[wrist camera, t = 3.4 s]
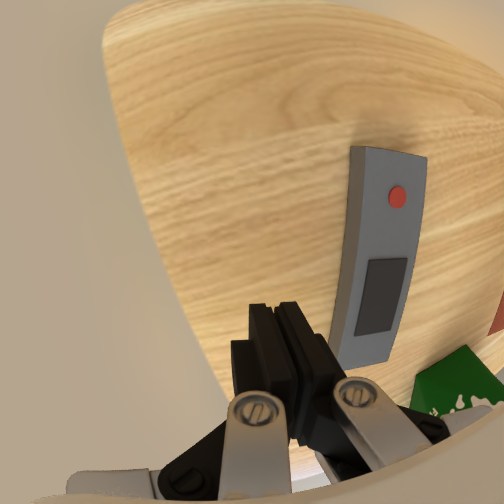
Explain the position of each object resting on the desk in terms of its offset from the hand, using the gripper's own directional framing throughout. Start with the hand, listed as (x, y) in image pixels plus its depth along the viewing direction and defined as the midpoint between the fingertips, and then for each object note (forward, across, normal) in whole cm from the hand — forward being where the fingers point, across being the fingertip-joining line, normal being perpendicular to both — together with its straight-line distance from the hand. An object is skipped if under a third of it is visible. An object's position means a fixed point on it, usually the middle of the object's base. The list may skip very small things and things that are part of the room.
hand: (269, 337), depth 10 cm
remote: (+6, -8, 0) cm, 10 cm away
